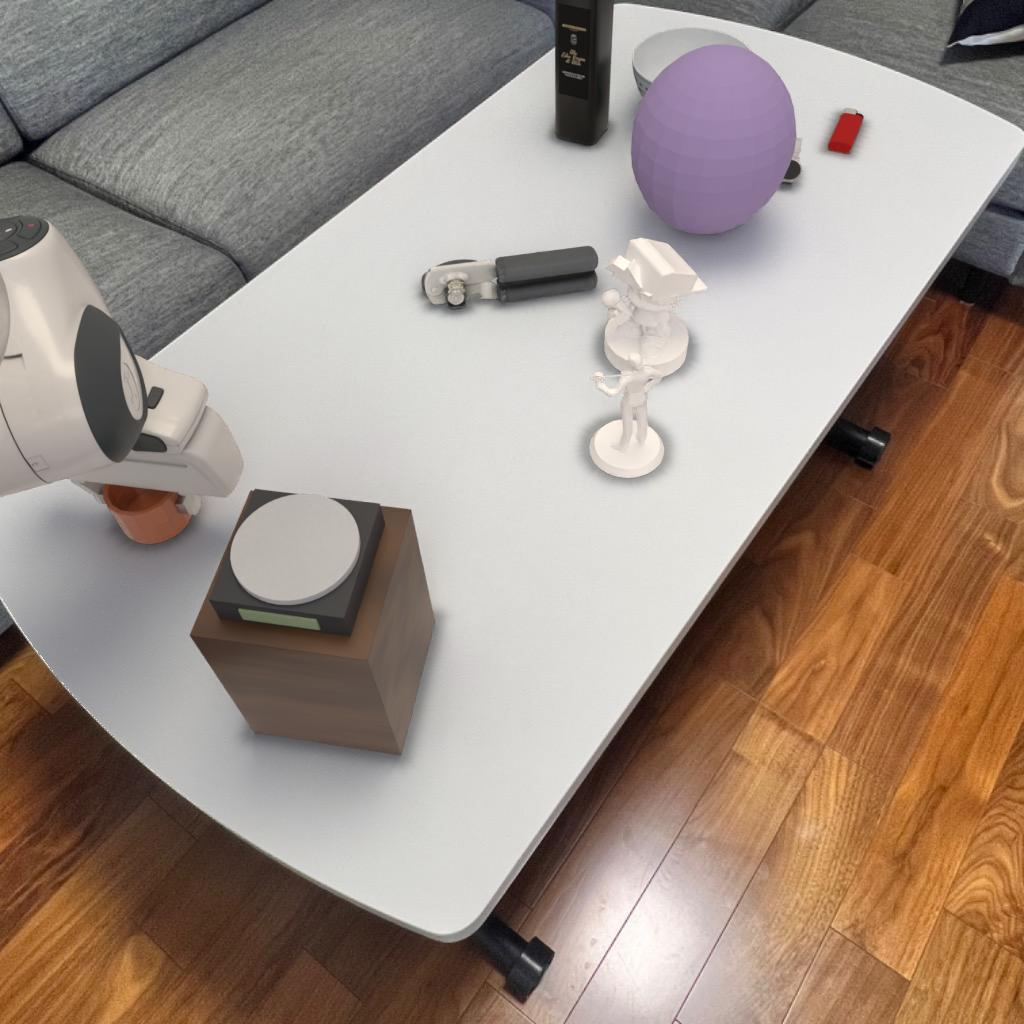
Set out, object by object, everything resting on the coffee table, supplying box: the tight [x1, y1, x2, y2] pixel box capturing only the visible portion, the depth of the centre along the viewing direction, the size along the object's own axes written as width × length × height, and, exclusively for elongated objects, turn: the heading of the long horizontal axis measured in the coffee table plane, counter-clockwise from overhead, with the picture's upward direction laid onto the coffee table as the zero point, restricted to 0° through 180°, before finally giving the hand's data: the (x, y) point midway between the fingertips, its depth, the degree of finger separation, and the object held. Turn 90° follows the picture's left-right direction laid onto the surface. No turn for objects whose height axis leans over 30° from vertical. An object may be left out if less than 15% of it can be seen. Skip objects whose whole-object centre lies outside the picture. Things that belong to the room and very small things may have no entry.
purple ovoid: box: [630, 44, 798, 235], centre depth 100 cm, size 17×17×20 cm
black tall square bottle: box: [554, 0, 615, 146], centre depth 108 cm, size 6×6×30 cm
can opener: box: [420, 245, 599, 310], centre depth 101 cm, size 19×6×5 cm, turn 95°
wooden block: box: [189, 489, 436, 756], centre depth 70 cm, size 12×12×16 cm
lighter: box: [827, 107, 864, 154], centre depth 117 cm, size 3×1×8 cm
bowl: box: [103, 484, 193, 545], centre depth 85 cm, size 6×6×4 cm
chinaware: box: [631, 26, 753, 98], centre depth 118 cm, size 15×15×8 cm
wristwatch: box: [782, 137, 804, 184], centre depth 111 cm, size 3×5×5 cm, turn 163°
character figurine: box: [600, 237, 708, 380], centre depth 92 cm, size 9×10×12 cm
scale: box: [209, 488, 385, 636], centre depth 62 cm, size 9×9×3 cm
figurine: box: [588, 352, 665, 479], centre depth 84 cm, size 7×7×12 cm
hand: (151, 503), depth 85 cm, fingers closed on bowl, 6 cm apart
